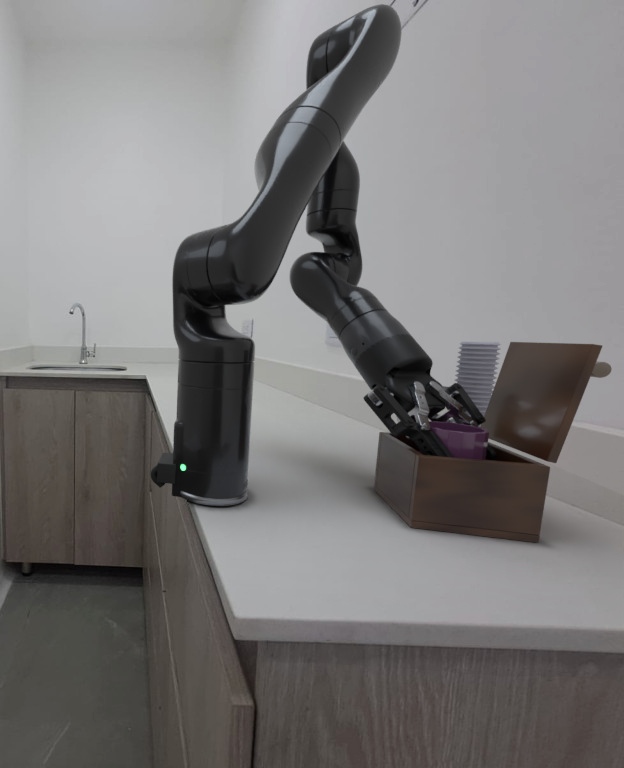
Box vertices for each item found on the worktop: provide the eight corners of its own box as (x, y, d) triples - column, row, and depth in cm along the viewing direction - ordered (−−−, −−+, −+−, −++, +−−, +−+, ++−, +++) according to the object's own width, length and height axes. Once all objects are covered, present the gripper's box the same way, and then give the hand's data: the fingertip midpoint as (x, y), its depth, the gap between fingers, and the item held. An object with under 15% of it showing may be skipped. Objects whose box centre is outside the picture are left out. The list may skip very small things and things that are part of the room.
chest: (410, 527, 43) (419, 456, 42) (373, 489, 54) (379, 431, 53) (538, 543, 41) (550, 466, 40) (472, 499, 51) (480, 438, 50)
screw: (519, 501, 51) (542, 343, 48) (438, 492, 53) (457, 341, 51) (481, 478, 59) (500, 342, 56) (413, 471, 61) (428, 340, 59)
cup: (428, 508, 45) (437, 430, 44) (405, 489, 51) (413, 419, 50) (490, 515, 44) (501, 435, 43) (460, 494, 49) (469, 423, 48)
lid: (592, 343, 38) (651, 353, 37) (510, 341, 48) (554, 348, 47) (546, 461, 40) (601, 473, 39) (477, 434, 50) (518, 443, 49)
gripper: (358, 331, 50) (447, 451, 40) (444, 333, 54) (545, 443, 44) (322, 369, 56) (392, 482, 46) (402, 368, 59) (483, 473, 50)
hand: (466, 462), depth 45 cm, fingers closed on cup, 6 cm apart
